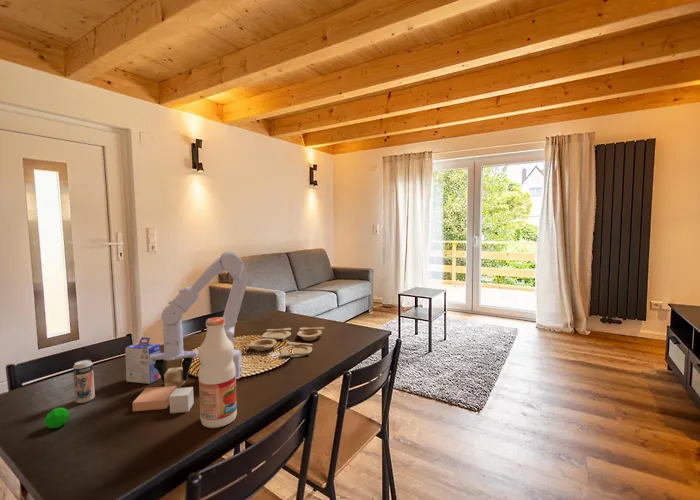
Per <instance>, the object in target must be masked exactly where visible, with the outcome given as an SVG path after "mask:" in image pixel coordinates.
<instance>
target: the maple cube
mask: <svg viewBox="0 0 700 500" xmlns="http://www.w3.org/2000/svg"><path fill="white" fill-rule="evenodd" d="M185 383H186V381H183V368H182V366H179V367H169V368H168V369H167V372H166V373H165V374H164V387H165V386H177V388H183V386H184V384H185Z"/></svg>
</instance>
